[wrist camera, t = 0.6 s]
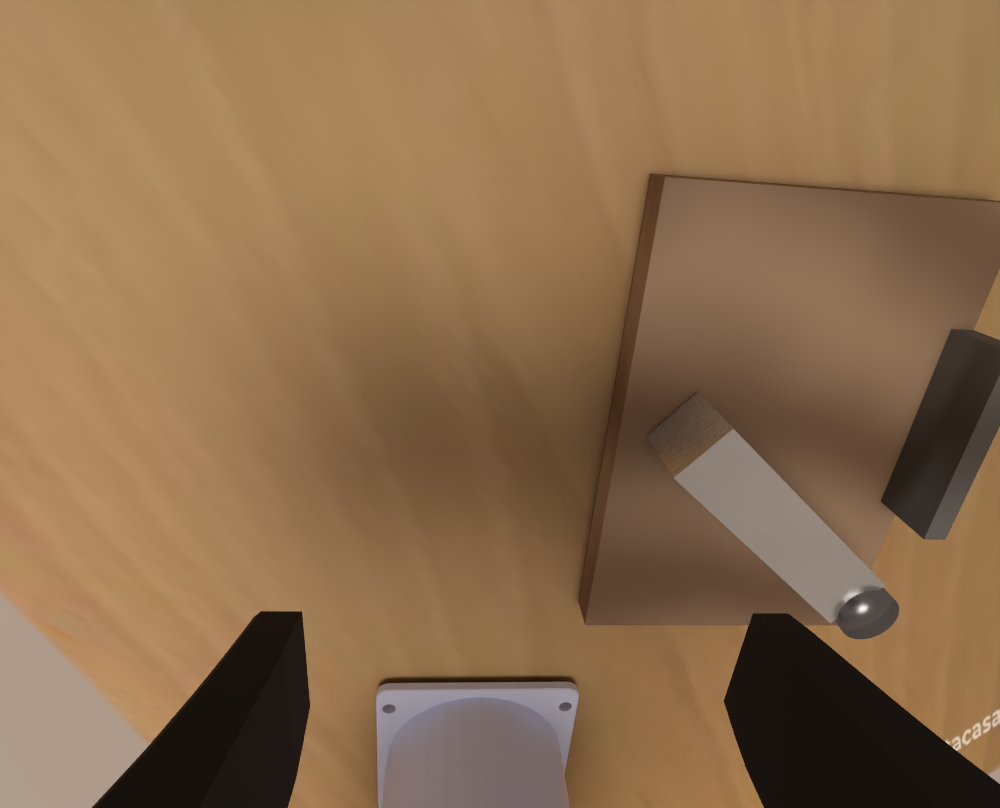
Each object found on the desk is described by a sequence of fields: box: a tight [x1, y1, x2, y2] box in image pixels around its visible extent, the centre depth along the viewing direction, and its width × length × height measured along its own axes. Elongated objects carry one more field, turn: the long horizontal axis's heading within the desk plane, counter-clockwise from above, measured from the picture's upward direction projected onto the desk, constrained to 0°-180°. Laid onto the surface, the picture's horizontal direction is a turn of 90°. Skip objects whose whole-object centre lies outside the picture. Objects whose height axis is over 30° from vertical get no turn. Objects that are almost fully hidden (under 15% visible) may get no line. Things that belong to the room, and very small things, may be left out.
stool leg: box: [647, 392, 899, 639], centre depth 18 cm, size 9×2×3 cm, turn 46°
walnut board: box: [579, 174, 1000, 625], centre depth 18 cm, size 15×10×3 cm, turn 176°
